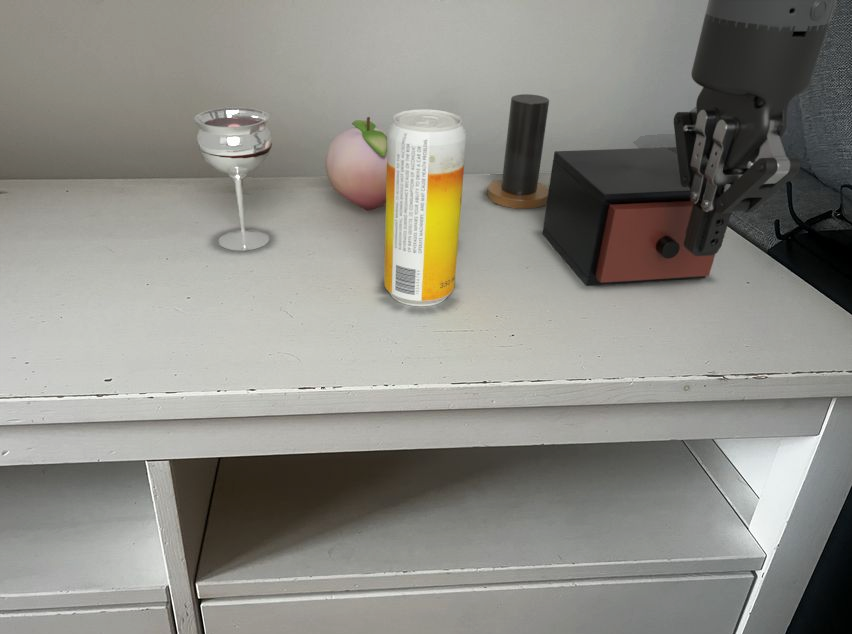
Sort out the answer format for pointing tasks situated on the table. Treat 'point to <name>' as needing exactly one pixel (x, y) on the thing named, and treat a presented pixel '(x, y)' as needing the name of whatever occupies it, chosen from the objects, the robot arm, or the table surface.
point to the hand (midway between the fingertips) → (699, 251)
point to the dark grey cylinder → (524, 144)
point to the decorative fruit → (359, 164)
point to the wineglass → (235, 158)
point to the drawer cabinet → (603, 198)
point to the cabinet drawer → (648, 243)
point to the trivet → (517, 196)
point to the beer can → (423, 205)
